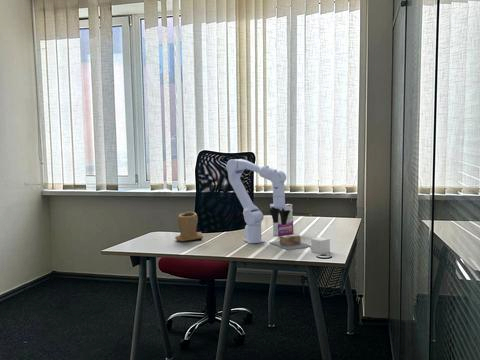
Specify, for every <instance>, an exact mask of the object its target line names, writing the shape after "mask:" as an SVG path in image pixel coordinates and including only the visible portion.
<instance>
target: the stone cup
mask: <svg viewBox="0 0 480 360" xmlns="http://www.w3.org/2000/svg"><path fill="white" fill-rule="evenodd" d="M198 220H199V217H198V214H197V213H196V212H194V211H186V212H183V213H179V214H178V216H177V225H178V228H179V231H180V232H179V233H180V234H179V235H177V236H175V240H176V241H178V242H188V241H189V242H190V241H196V240H201V239H204V236H203V234H202V231H197V226H198Z"/></svg>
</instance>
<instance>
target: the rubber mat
mask: <svg viewBox="0 0 480 360" xmlns="http://www.w3.org/2000/svg"><path fill="white" fill-rule="evenodd" d="M269 244H270V245H272V246H276V247H278V248H280V249H283V250H285V251H291V250H299V249H307V248H308V247H309V248H311V244H308V243H305V242H303V241H300V244H295V245H289V246H283V245H280V240H277V241H270V242H269Z"/></svg>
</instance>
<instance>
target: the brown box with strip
mask: <svg viewBox="0 0 480 360" xmlns="http://www.w3.org/2000/svg"><path fill="white" fill-rule="evenodd" d="M279 241H280V245H283V246H289V245H295V244H300V242H301V235H300V234H299V235H298V234H295V233H293V234H289V235H283V236H279Z"/></svg>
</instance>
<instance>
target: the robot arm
mask: <svg viewBox="0 0 480 360" xmlns="http://www.w3.org/2000/svg"><path fill="white" fill-rule="evenodd" d="M225 168H226V169H225V170H226V171H227V176H228V177H227V178H228V182H229V183H230V185H231V187H232V189H233V190H234V193H235V194H236V197H237V199H238V200H239V202H240V204H241V206H242V208H243V212H242V215H243V219H244V222H245V223H246V225H245V226H244V238H243V242H246V243H249V244H257V243H265V240H262V221H263V220H264V217H265V216H264V213H263V212H262V211H261V210H260V208H259V207H257V205H256V204H254V203H253V201H252V199H251V197H250V195H249V194H248V191H247V189H246V187H245V185H244V184H243V182H242V179H241V176H242V174H243V173H244V171H245V170H249V171H251V172H254V173H257V174H258V175H259V177H261V178H263V179H265V180H268V181H270V182H271V184H272V201H273V203H270V204H269V208H270V209H269V208H268V212H269V213H270V215H271V217H272V219H271V220H272V223H273V222H274V223H278V215H279V214H280V217H281V224H282V225H286V222H287V218H288V215H289V213H290V210H289V206H287V205H285V204H286V196H285V195H286V193H285V192H286V191H285V189H286V188H285V182H286V180H287V175H286V173H285V171H282V170H280V171H278V170H277V169H273V168H271V167H270V166H269V165H263V166H259V165H257V164H255V163H253V162H251V161H249V160H247V159H243V158H239V159H237V158H235V159H232V158H231V159H229V160H228V161H227V162H226V166H225ZM280 209H282V210H280Z"/></svg>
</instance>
